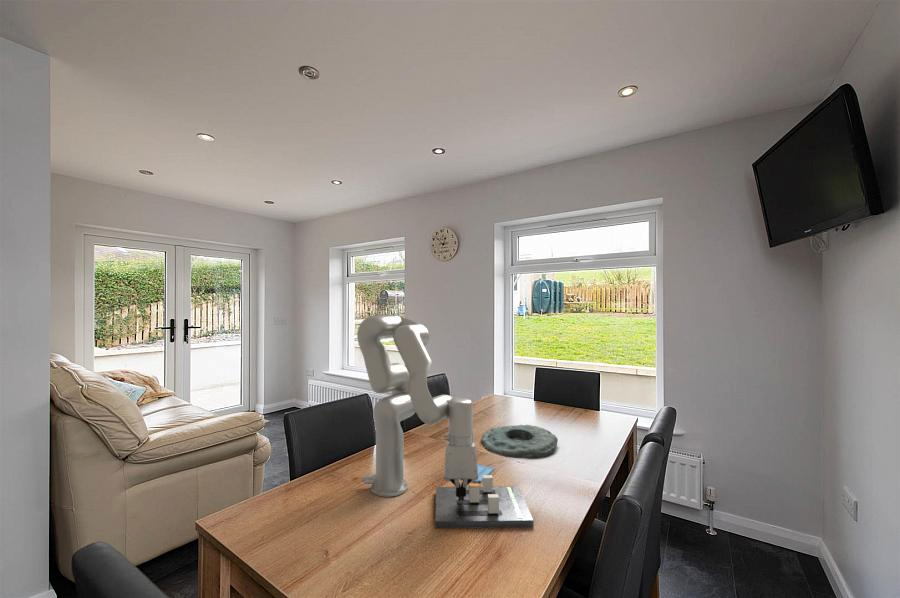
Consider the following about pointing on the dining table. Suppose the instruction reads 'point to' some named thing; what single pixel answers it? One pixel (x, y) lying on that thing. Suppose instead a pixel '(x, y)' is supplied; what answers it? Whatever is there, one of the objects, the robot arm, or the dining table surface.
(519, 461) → the dining table surface
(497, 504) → the block
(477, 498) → the block
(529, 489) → the dining table surface
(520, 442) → the stone ring
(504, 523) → the panel
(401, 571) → the dining table surface
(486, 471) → the light blue flat plate
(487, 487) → the block
